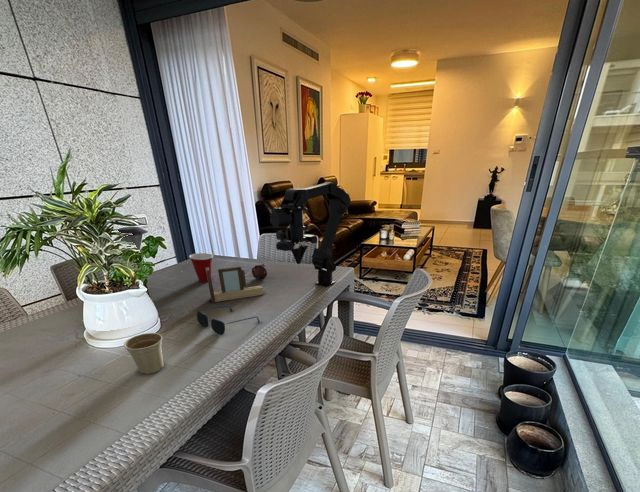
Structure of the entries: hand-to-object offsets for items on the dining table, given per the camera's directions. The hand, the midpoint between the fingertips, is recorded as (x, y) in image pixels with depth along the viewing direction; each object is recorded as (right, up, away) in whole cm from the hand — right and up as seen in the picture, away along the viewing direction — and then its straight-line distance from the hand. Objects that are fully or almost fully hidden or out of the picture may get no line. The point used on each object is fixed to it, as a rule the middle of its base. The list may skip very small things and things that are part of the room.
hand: (298, 263), depth 144 cm
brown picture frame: (-27, -12, +2) cm, 29 cm away
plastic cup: (-46, -2, +24) cm, 52 cm away
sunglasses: (-23, -26, -21) cm, 41 cm away
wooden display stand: (-25, -13, +3) cm, 28 cm away
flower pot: (-38, -40, -47) cm, 73 cm away
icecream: (-20, -2, +24) cm, 31 cm away
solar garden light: (-59, -18, -5) cm, 62 cm away
